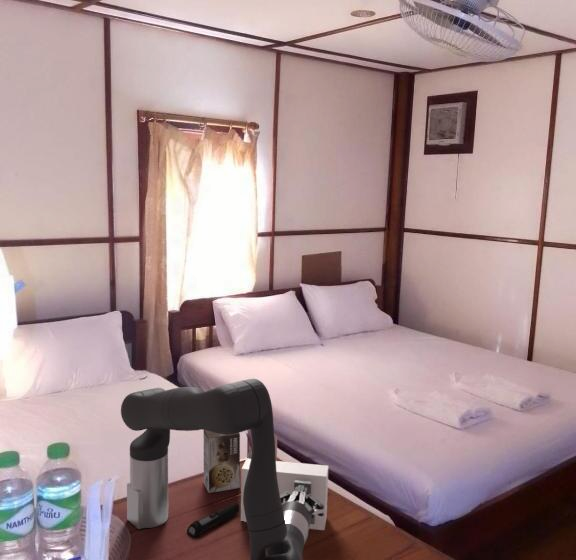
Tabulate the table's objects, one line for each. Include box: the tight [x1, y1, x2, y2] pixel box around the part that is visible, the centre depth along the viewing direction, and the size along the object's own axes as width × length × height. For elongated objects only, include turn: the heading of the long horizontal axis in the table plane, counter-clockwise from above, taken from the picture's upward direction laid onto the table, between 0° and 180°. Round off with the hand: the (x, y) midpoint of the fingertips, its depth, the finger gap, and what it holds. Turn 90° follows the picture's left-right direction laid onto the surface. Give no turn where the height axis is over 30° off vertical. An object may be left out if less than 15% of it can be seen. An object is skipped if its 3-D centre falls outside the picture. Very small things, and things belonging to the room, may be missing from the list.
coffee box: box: [203, 430, 241, 494], centre depth 169 cm, size 9×6×16 cm
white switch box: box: [240, 457, 329, 531], centre depth 152 cm, size 21×6×14 cm, turn 81°
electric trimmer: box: [186, 502, 240, 539], centre depth 151 cm, size 4×16×3 cm, turn 138°
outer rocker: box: [294, 480, 311, 495], centre depth 147 cm, size 4×1×6 cm, turn 81°
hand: (301, 488), depth 145 cm, fingers closed
